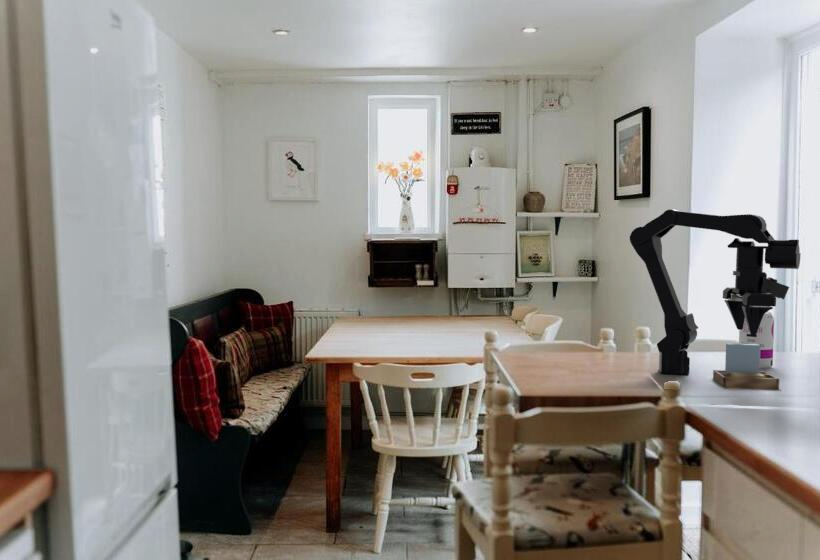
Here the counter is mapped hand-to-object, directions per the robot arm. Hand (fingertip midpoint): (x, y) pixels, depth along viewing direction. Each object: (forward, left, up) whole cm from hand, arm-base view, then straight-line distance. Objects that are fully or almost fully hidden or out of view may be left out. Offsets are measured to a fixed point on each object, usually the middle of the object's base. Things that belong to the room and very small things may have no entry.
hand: (746, 332), depth 162 cm
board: (-1, -1, -12) cm, 12 cm away
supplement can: (+9, +22, -13) cm, 27 cm away
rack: (-1, -4, -12) cm, 13 cm away
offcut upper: (-1, -5, -11) cm, 12 cm away
